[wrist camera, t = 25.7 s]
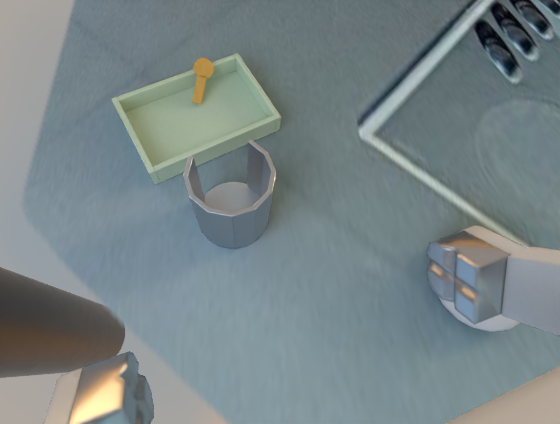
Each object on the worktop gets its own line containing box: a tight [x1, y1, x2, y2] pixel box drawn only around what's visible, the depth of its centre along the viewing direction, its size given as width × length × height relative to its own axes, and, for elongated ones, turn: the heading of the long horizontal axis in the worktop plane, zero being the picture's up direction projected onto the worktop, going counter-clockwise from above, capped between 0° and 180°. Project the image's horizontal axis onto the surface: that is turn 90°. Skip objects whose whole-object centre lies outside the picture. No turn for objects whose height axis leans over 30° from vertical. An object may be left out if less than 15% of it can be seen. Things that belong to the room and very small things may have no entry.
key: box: [192, 58, 214, 104], centre depth 40 cm, size 5×2×1 cm
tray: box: [111, 53, 281, 185], centre depth 40 cm, size 15×10×2 cm
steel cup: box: [183, 139, 276, 248], centre depth 33 cm, size 7×7×9 cm
